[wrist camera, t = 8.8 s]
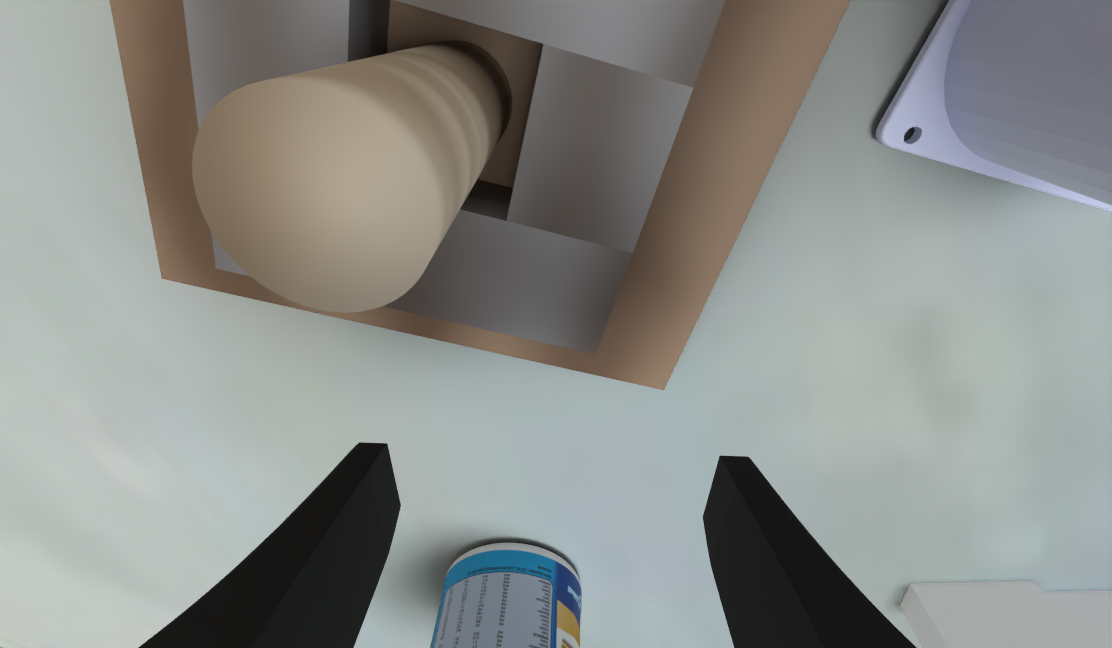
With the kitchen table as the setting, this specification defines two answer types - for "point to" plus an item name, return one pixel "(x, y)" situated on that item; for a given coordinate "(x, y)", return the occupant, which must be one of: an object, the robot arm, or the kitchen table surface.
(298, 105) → the peg
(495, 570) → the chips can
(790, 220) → the kitchen table surface
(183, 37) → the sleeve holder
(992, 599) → the napkin holder
